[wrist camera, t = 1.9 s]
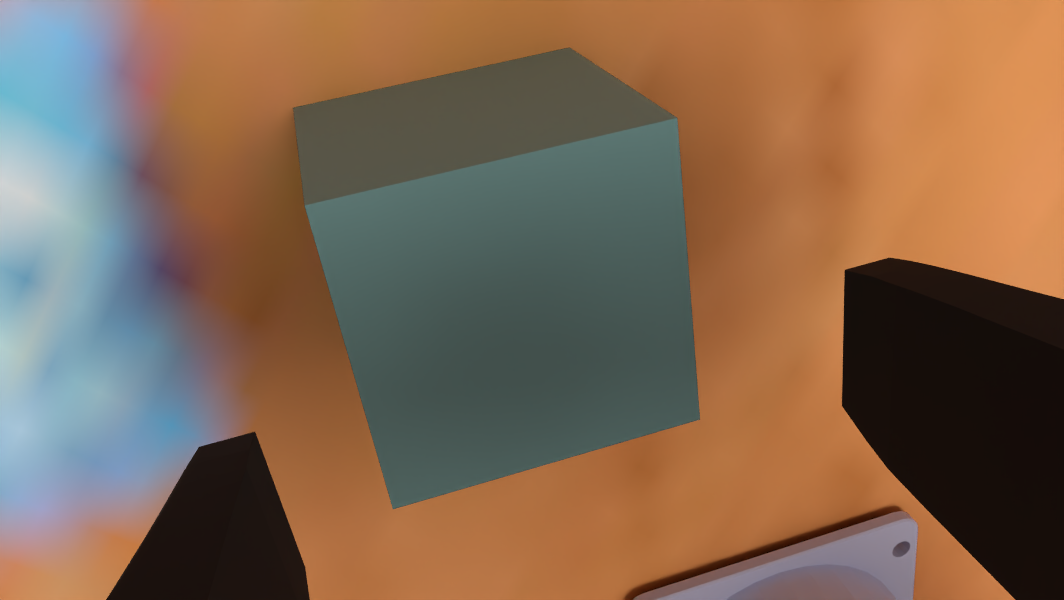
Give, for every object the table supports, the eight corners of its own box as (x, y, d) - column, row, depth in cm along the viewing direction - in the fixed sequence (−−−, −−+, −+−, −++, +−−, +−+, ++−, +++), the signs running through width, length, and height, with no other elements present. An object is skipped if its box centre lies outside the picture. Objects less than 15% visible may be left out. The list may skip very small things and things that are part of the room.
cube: (599, 287, 19) (699, 419, 15) (361, 350, 18) (393, 508, 14) (568, 46, 16) (677, 117, 12) (293, 106, 16) (304, 205, 11)
